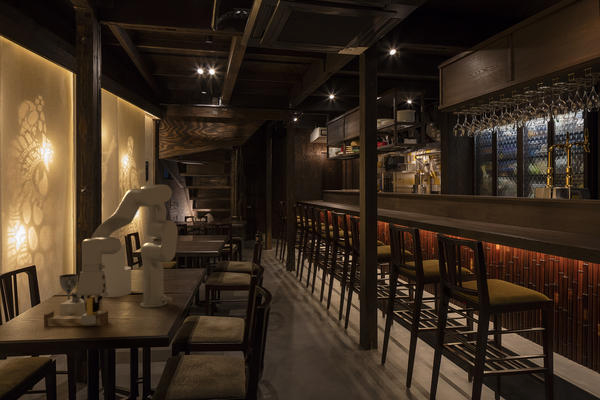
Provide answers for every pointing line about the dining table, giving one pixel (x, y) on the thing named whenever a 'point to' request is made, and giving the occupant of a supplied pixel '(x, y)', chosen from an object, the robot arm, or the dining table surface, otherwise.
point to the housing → (72, 308)
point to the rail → (72, 320)
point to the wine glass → (68, 283)
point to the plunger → (75, 297)
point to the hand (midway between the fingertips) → (92, 310)
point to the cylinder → (116, 274)
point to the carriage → (90, 312)
